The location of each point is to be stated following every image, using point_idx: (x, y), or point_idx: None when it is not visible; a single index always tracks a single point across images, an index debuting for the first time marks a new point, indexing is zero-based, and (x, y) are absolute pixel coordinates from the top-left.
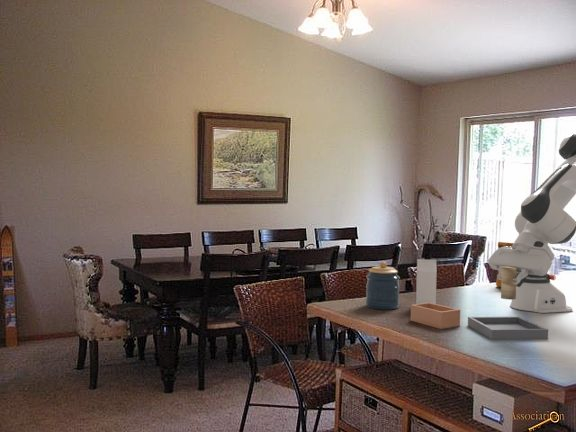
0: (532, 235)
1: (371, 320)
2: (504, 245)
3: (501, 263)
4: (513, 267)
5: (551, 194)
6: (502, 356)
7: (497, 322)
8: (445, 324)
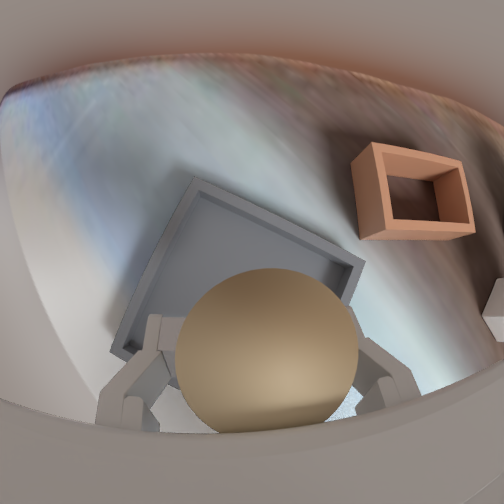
0: None
1: (444, 115)
2: None
3: (424, 404)
4: (230, 400)
5: None
6: (101, 105)
7: None
8: (357, 175)
